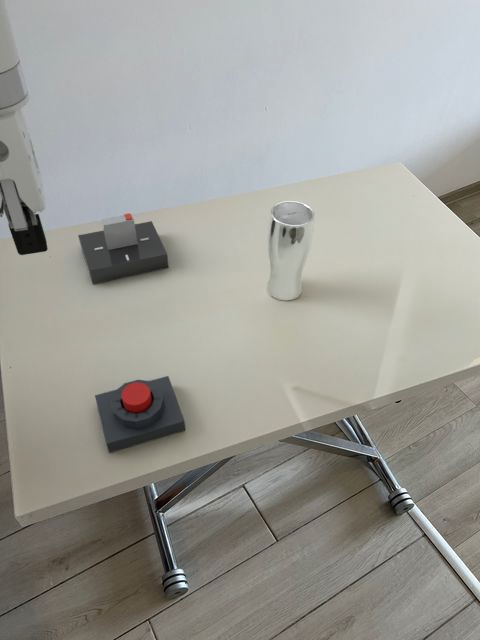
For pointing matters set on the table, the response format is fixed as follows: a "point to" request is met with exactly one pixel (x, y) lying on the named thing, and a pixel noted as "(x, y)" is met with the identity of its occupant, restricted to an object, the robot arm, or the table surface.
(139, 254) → the panel
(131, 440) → the stop block
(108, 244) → the hob knob
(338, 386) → the table surface
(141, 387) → the stop button
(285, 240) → the beer glass
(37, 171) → the robot arm
